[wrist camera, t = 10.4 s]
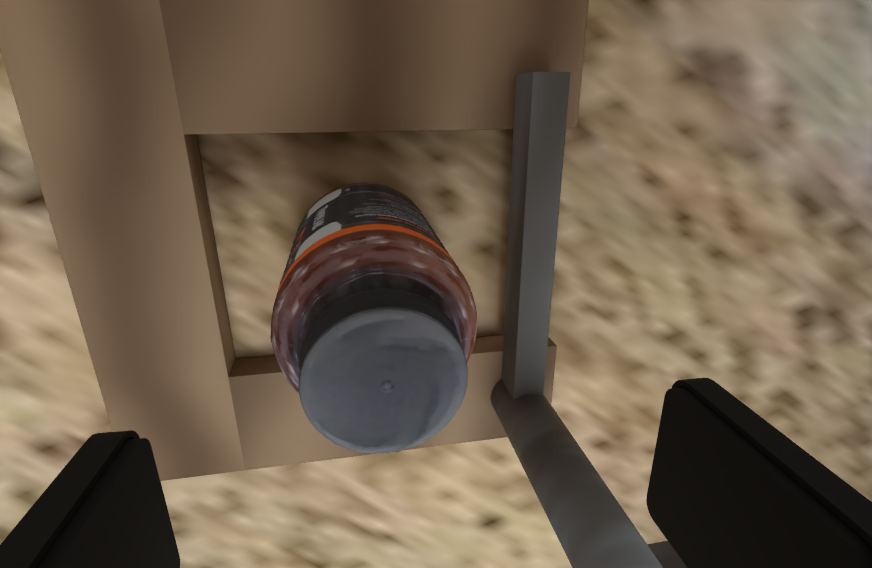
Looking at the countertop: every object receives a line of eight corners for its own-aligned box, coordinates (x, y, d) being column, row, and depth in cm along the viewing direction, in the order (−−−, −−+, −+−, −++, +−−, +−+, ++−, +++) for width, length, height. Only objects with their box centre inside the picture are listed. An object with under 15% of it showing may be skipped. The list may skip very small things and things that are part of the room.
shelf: (607, -3, 20) (948, -139, 9) (564, 410, 27) (721, 627, 16) (8, -23, 16) (-725, -298, 5) (142, 460, 23) (-41, 787, 12)
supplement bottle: (280, 191, 20) (214, 290, 10) (421, 169, 21) (500, 238, 10) (312, 320, 22) (287, 512, 12) (438, 296, 23) (518, 457, 13)
